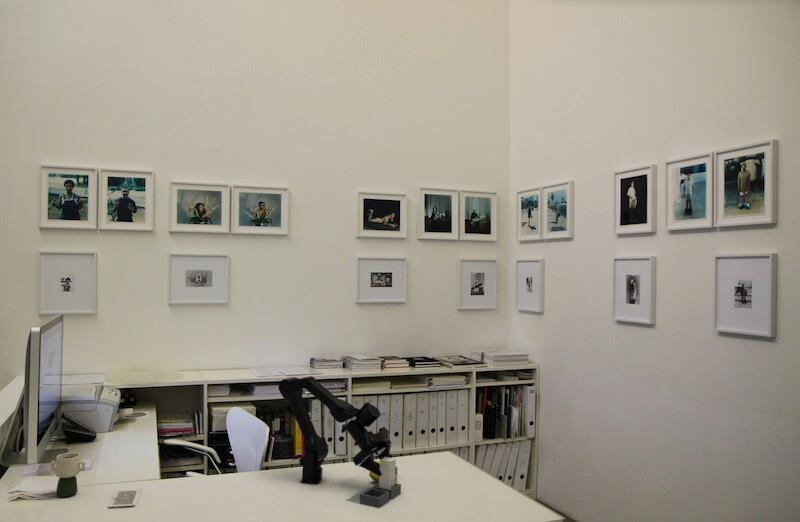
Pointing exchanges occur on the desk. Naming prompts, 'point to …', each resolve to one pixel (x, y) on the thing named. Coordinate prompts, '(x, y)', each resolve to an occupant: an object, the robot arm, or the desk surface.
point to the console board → (376, 495)
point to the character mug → (67, 473)
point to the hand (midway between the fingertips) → (387, 471)
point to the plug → (387, 473)
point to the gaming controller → (376, 477)
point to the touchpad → (125, 497)
